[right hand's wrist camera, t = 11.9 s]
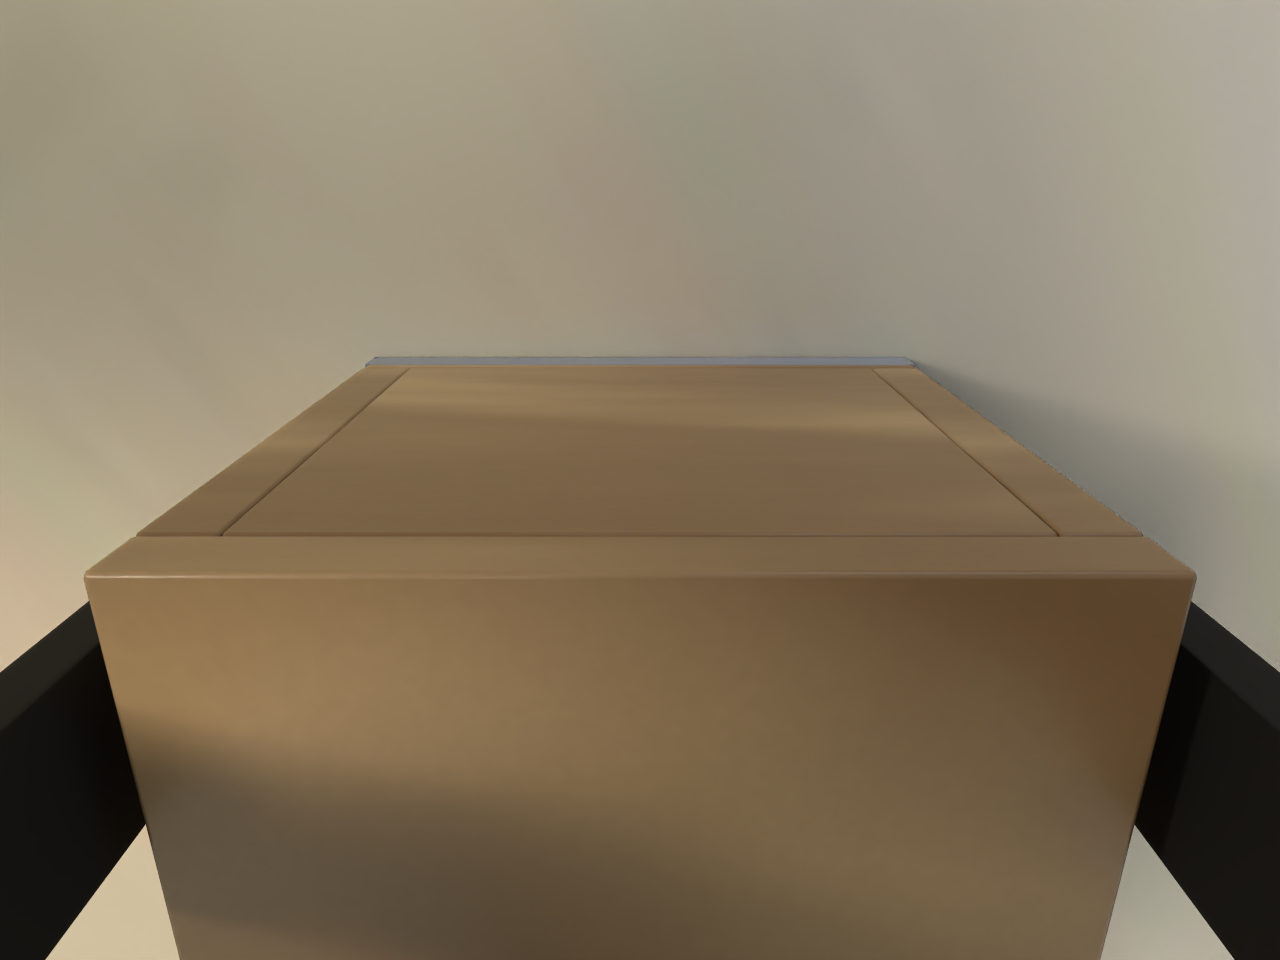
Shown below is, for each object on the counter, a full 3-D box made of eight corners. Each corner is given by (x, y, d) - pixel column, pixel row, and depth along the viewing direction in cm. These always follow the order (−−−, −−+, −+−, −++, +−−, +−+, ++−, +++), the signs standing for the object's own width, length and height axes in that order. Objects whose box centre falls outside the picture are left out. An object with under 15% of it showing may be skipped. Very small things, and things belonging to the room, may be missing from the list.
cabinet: (841, 937, 24) (977, 1456, 15) (438, 937, 24) (302, 1456, 15) (905, 357, 19) (1203, 572, 9) (375, 356, 19) (77, 572, 9)
